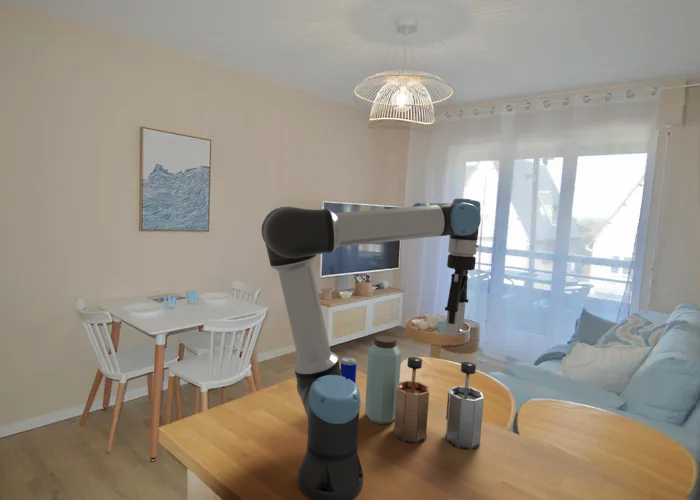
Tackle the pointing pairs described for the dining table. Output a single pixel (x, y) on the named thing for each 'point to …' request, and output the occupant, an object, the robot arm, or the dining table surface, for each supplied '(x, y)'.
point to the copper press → (411, 413)
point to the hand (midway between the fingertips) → (454, 329)
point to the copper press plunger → (414, 373)
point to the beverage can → (349, 368)
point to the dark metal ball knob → (467, 378)
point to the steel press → (464, 418)
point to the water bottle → (382, 379)
